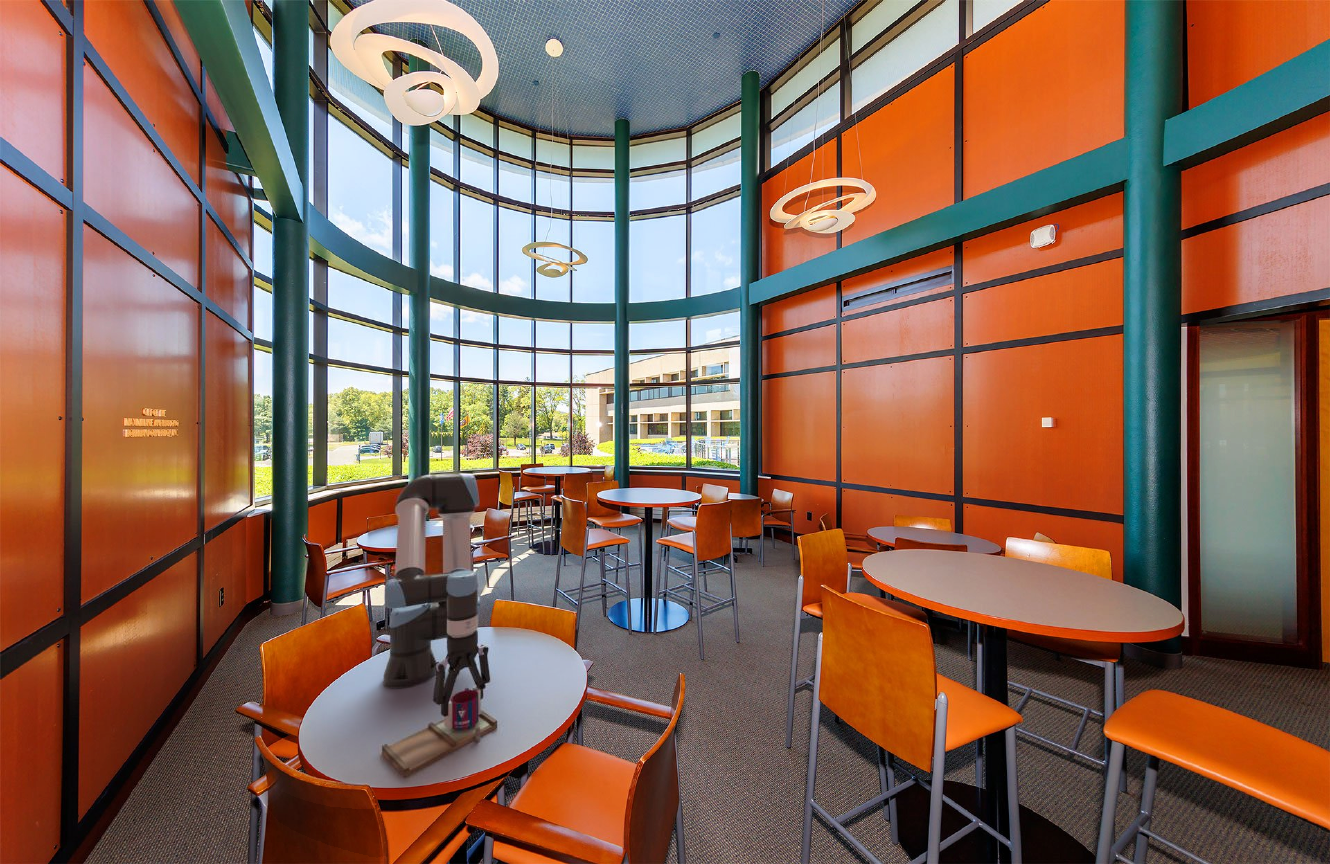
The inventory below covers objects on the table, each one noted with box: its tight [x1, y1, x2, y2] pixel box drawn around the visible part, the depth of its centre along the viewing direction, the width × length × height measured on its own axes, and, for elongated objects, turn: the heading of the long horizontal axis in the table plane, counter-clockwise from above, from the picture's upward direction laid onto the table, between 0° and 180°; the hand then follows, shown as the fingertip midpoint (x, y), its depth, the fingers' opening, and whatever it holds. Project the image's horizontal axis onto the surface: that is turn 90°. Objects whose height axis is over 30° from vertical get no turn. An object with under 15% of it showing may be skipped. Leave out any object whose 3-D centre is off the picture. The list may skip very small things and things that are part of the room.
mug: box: [450, 687, 479, 730], centre depth 123 cm, size 7×10×7 cm
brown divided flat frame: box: [381, 709, 498, 778], centre depth 117 cm, size 15×23×3 cm, turn 141°
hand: (462, 719), depth 122 cm, fingers closed on mug, 7 cm apart
